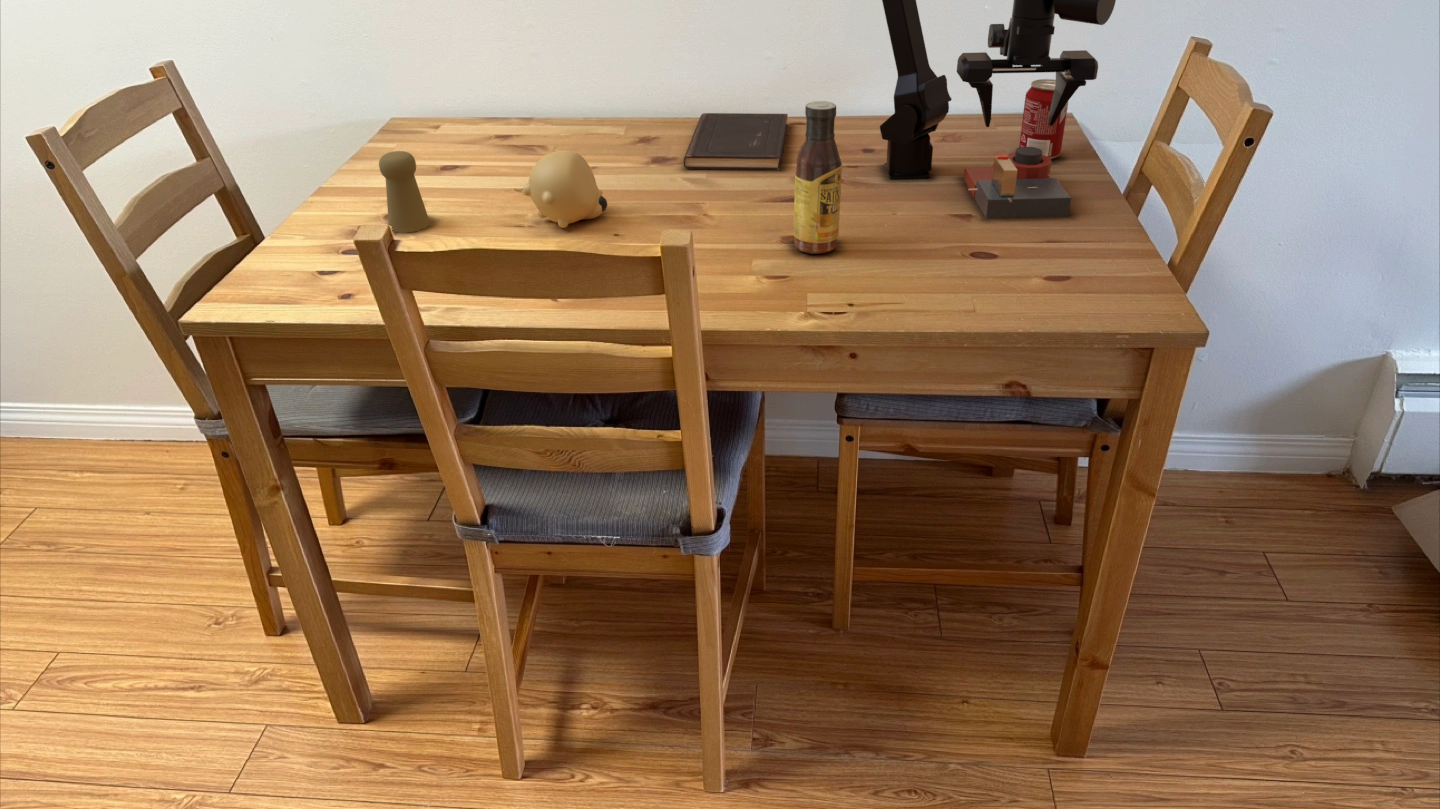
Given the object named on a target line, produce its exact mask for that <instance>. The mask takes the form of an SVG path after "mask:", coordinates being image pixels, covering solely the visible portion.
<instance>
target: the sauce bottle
mask: <svg viewBox="0 0 1440 809" xmlns="http://www.w3.org/2000/svg"><path fill="white" fill-rule="evenodd" d="M804 111H805V112H804V113H805V118H806V119H805V120H806V122H805V134H804V135H805V139H804V141H803V143H802V144H801V145H800V147H799V149H798V151H797V155H796V163H795V164H796V165H795V166H796V167H795V173H794V203H793V237H794V247H795V249H797V250H798V251H799V252H802V253H806V254H811V255H814V254H815V255H816V254H817V255H818V254H826V253H829V252H833V251H834V250H835V248H836V247H837V243H838V238H839V236H840V235H839V234H840V216H841V215H840V211H841V195H842V194H841V193H842V192H841V191H842V174H843V163H842V160H841V157H840V153H839V150H838V146H837V142H836V139H835V136H836V135H835V119H836V117H837V105H836V104H835V103H834V102H832V101H825V100H818V101H811V102H807V103H806V104H805V110H804Z"/></svg>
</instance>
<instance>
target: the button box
mask: <svg viewBox="0 0 1440 809" xmlns="http://www.w3.org/2000/svg"><path fill="white" fill-rule="evenodd" d="M1007 155H1008V156H1009V158H1010V160H1011V161H1012V163H1013V164H1014V166H1015V167H1016V169H1017V178H1016V179H1042V178H1051V177H1050V176H1049V175H1050V174H1051V169H1052V162H1053V161H1052V159H1051V160H1050V158H1049V157H1047V156H1044V155H1042V159H1041V163H1040V164H1036V165H1025V164H1019V163H1017V162H1015V161H1014V159H1015V152H1013V153H1009V154H1007ZM992 173H993V165H992V166H991V165H990V166H964V170H963V178H962V179H963V180H964V182H965V184H966V186H967V187H968V188H967V189H976V182H977V180H992ZM975 191H976V190H972V191H970V193H971V195H972V197H973V198H975Z"/></svg>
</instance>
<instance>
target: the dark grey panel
mask: <svg viewBox="0 0 1440 809" xmlns="http://www.w3.org/2000/svg"><path fill="white" fill-rule="evenodd" d="M972 190H976V191H975V197H974V200H975V202H976V204H977V205H978V207H979V209H980V211H981V212H982V214H983V216H984V218H985V219H986V220H987V219H988V220H989V219H990V220H991V219H1024V218H1025V219H1026V218H1027V219H1028V218H1030V219H1031V218H1058V217H1059V218H1062V217H1063V218H1064V217H1069V213H1070V206H1071V203H1072V202H1071V201H1072V196H1070V194H1069V192H1067V191H1066V189H1065V188H1064V187H1063V185H1062V184H1061V183H1060V182H1059V180H1058V178H1057V177H1050V178H1042V179H1016V186H1015V193H1014V196H1000V194H999V193H998V191H997V190H996V188H995V186H994V185H993V183H992V180H977V182H976V189H969V188H967V191H968V192H969V191H970V192H971V191H972Z"/></svg>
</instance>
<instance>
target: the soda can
mask: <svg viewBox="0 0 1440 809" xmlns="http://www.w3.org/2000/svg"><path fill="white" fill-rule="evenodd" d="M1055 85H1056V79H1054V78H1052V79H1051V78H1041V79H1036V80H1033V81H1031V84H1030V87H1029V89H1028V90H1027V91H1026V93H1025V98H1024V106H1023V113H1022V120H1021V129H1020V135H1019V142H1018V144H1019V145H1018V148H1020V147H1035V148H1039V149H1041V150H1042V155H1044V156H1047V157H1049V158H1050V160H1051V161H1052V160H1054V159H1056V158H1058V157H1059V156H1060V155H1061V153H1062V146H1063V140H1064V134H1065V127H1066V120H1067V113H1068V107H1069V101H1070V99H1069V100H1068V102H1067V103H1066V105H1065V106H1064V108H1063V110H1062V111H1061V113H1060V115H1059V116H1058V118H1057V119H1056V121H1055V123H1054V124H1053V126H1050V125H1049V124H1048V121H1049V112H1050V108H1051V103H1052V99H1053V95H1054V90H1055Z"/></svg>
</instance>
